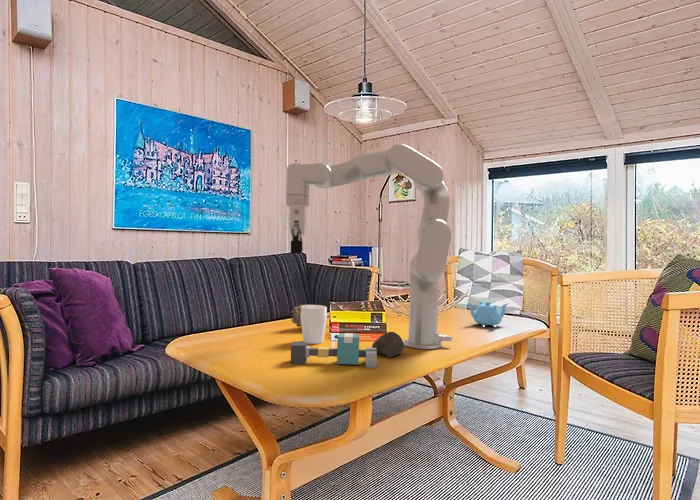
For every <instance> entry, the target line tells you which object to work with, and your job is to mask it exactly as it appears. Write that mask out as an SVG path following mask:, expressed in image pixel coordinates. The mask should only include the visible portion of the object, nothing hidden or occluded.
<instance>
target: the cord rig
mask: <svg viewBox="0 0 700 500" xmlns="http://www.w3.org/2000/svg"><path fill="white" fill-rule="evenodd" d="M312 356H313V357H317V358H329V357H333V358H334V357H336V358H337V348H330V346H329V347H326V346H325V347H324V346H318V347H311V346H310V345H308V343H307V342H303V341H293V342H292V343H291V344H290V365H306V363H307V360H308V358H310V357H312ZM377 357H378V353H377V349H376V348H372V346H371V347H365V349H359V358H364V359H365V368H368V369H376V368H377V365H378V364H377V361H378V358H377Z"/></svg>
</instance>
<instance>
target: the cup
mask: <svg viewBox="0 0 700 500" xmlns="http://www.w3.org/2000/svg"><path fill="white" fill-rule="evenodd" d="M303 305H304V306H301V314H300V317H301V326H302V328H301V333H302V342H307V345H309V344H310V345H317V344H322V343H323V342H324V337H325V330H326V325H327V319H328V318H327V315H328V313H327V312H328V311H327V310H328V308H327V306H326V305H321V304H309V305H305V304H303ZM301 326H300V327H301Z"/></svg>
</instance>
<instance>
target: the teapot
mask: <svg viewBox="0 0 700 500" xmlns="http://www.w3.org/2000/svg"><path fill="white" fill-rule="evenodd" d="M478 302H479V305H478V306H477V307H476V309H475V308H474V304H473V303H471V302H468V304H469V306H470V316H471V317H472V318H473V321H474V323H477V324H478V323H479V324H482V325H486V326H492V325H497V326H498V325H499V324H500V323H501V322H502V320H503V318H504V316H505V314H506V307H507V306H508V305H509V303H507V302H506V303H504V304H503V305H502V306H501V310H500V309H499V308H498V307H497V306H498V305H495V304H491V301H485V302H484V303H483V300H481V299H478ZM482 325H481V326H482Z"/></svg>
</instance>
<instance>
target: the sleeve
mask: <svg viewBox="0 0 700 500" xmlns="http://www.w3.org/2000/svg"><path fill="white" fill-rule="evenodd" d="M336 344H337V346H336V349H337V357H336V364H337V365H359V362H360V361H359V360H360V357H359V350H360V333H352V332H351V333H349V332H345V333H340V332H338V334H337V341H336Z"/></svg>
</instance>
